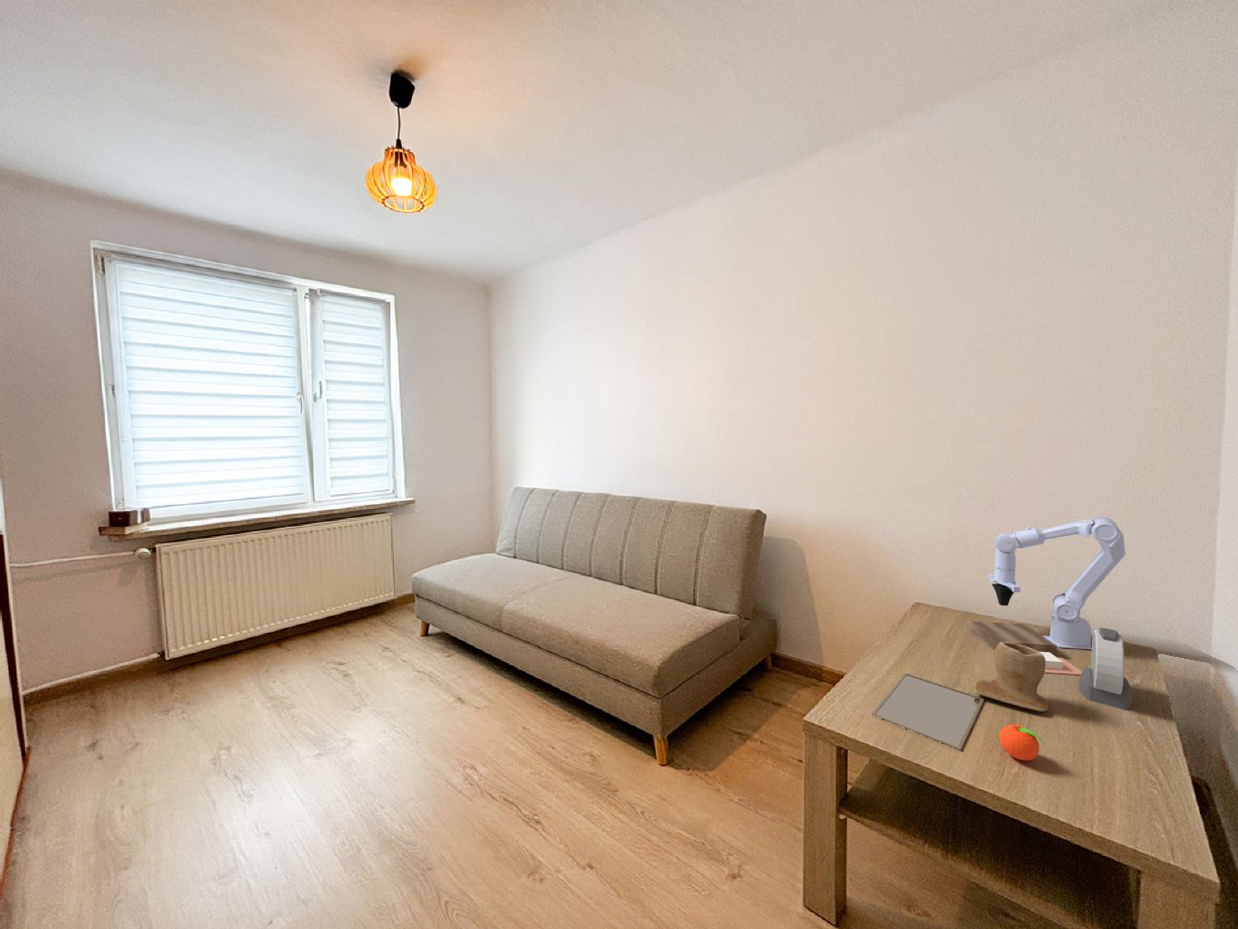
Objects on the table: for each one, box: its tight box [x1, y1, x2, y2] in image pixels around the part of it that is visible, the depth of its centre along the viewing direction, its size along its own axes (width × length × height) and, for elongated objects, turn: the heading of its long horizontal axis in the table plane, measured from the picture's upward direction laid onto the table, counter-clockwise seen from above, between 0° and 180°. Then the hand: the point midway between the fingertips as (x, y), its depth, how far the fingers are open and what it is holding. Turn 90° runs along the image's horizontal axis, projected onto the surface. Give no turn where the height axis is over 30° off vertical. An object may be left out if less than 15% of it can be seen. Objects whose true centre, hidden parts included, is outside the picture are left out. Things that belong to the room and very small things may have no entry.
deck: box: [971, 621, 1057, 657], centre depth 158 cm, size 16×16×4 cm
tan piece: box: [973, 642, 1049, 712], centre depth 127 cm, size 15×12×15 cm
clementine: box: [998, 724, 1047, 761], centre depth 106 cm, size 8×7×7 cm
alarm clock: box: [1078, 627, 1134, 711], centre depth 128 cm, size 16×10×18 cm, turn 137°
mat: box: [1044, 657, 1083, 676], centre depth 144 cm, size 18×10×1 cm, turn 78°
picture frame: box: [871, 672, 985, 752], centre depth 125 cm, size 19×1×28 cm
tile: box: [1040, 652, 1063, 670], centre depth 144 cm, size 9×6×2 cm, turn 78°
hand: (1003, 605), depth 167 cm, fingers closed
